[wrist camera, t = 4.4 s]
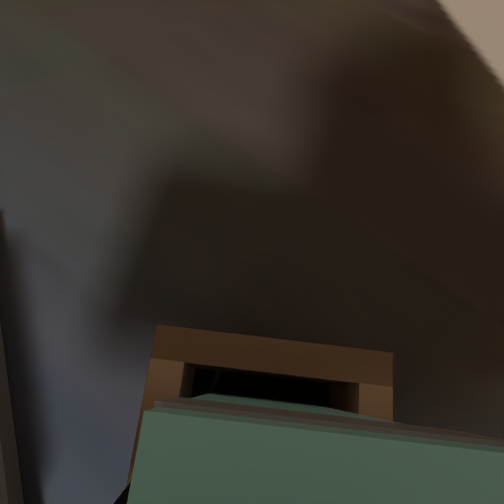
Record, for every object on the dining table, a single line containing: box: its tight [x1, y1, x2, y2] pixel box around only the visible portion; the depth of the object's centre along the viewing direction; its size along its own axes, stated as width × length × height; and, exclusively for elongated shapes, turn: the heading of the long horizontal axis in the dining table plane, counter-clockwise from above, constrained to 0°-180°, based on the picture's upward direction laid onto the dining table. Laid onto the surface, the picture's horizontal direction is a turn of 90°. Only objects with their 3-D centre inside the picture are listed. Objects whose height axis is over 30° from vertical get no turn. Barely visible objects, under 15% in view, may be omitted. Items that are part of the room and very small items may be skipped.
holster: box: [126, 324, 393, 487], centre depth 13 cm, size 8×7×4 cm
